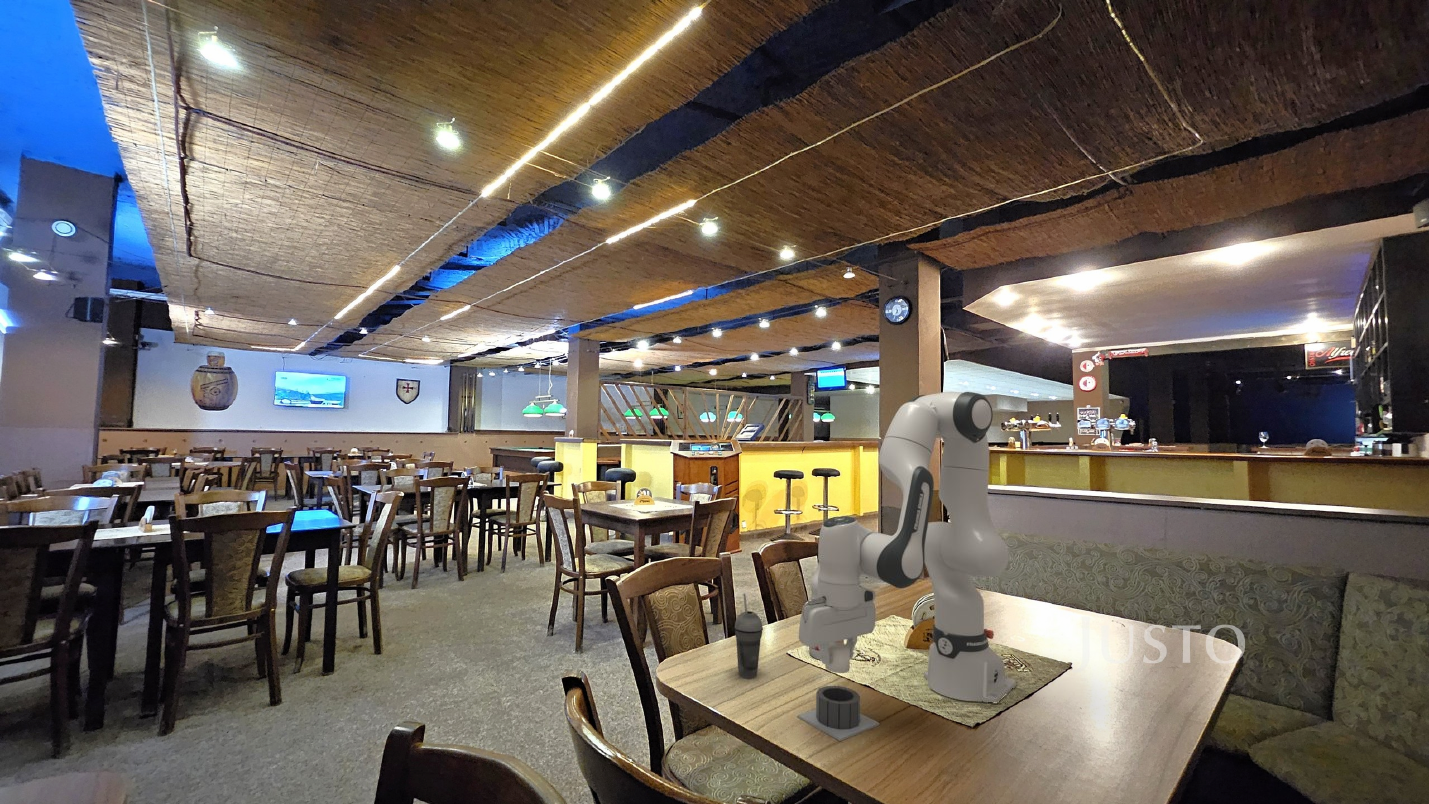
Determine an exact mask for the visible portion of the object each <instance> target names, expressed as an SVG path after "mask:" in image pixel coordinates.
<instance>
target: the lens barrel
mask: <svg viewBox="0 0 1429 804" xmlns="http://www.w3.org/2000/svg"><path fill="white" fill-rule="evenodd" d="M815 699H816V702H815V703H816V704H815V707H816V708H814V709H810V710H809V711H804V712H802V713H799V714H797V716H796V717H797V718H798V719H800V720H802V721H803V722H805V723H808V725H810V726H813V727H814V728H816V729H817V730H819V731H821V732H823V733H825V734H827V735H828V736H830V737H832V739H835V740H837V741H839V742H842V741H844V740H846V739H849V738H851V737H854V736H855V735H858V734H862V733H863V732H866V731H868V730H871V729H873V728H876V727H878V726H880V722H878V721H876V720H874V719H873V718H871V717H868V716H867V715H864V714H863V713H861V696H860V694H859V693H858V692H857V691H856V690H854V689H852V688H849V687H846V686H841V685H826V686H823V687H819V688H818V690H817V691H816V695H815Z"/></svg>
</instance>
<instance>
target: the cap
mask: <svg viewBox="0 0 1429 804" xmlns="http://www.w3.org/2000/svg"><path fill="white" fill-rule="evenodd" d="M827 649H828V652H829V654H830V655H833V659H832V663H831V664H828V665H826V664H824V665H825V666H824V667H825V669H826V670H827V671H830V672H832V673H836V674H837V673H838V674H846V673H848V672H850V662H851V658H850V647H849V646H848V645H846V643H844V644H843V643H830V645H829V648H827Z"/></svg>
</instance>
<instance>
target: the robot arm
mask: <svg viewBox="0 0 1429 804" xmlns="http://www.w3.org/2000/svg"><path fill="white" fill-rule="evenodd" d="M993 416H994V413H993V408H992V405H991V403H990V402H989V400H988V398H987V397H986V396H985V395H983V394H982V393H977V392H973V391H964V392H961V391H959V392H958V391H942V392H940V393H932V394H920V395H916V396H913V397H912V398H910V399H909V400H908V401H907V402H905V403H904V404H902V405H901V406H900V407H899V409H898V410H897V412H896V413H895V415H894V417H893V418H892V420H891V422H890V425H889V427H888V429H887V431H886V433H885V436H884V439H883V441H882V444H881V447H880V450H879V452H878V453H879V455H878V464H879V467H880V469H881V472H882V474H884V476H885V477H886V478H887V479H888V480H889V481H891V482H892V483H893V484H896V485H897V486H898V487H899V488H900V490H901V492H902V496H903V497H902V498H903V499H902V505H901V508H900V509H901V510H900V516H899V521H898V526H897V530H896V532H895V533H894V534H893V535H890V534H886V533H881V532H877V531H874V530H872V529H870V528H867V527H866V526H864V525H862V524H861V523H859V522H858V520H857V518H855V517H852V516H847V515H846V516H833V517H830V518H827V519H825V520H824V521H823V522H822V525H821V526H820V530H819V536H818V550H817V553H818V555H817V557H818V558H817V559H818V563H820V571H819V574H818V598H816V599H811V598H809V599H807V601H806V602H805V603H804V605H803V606H802V611H801V613H800V620H799V628H798V640H799V641H800V643H801V644H802V645H804V646H806V647H808V648H809V647H811V648H813V647H817V646H818V648H819V651H820V653H821V654H822V660H821V663H822V664H823V665H825V664H826V665H828V664H831V663H832V659H833V655H830V654H829V652H828V649H827V648H829V645H830V643H833V642H837V641H841V640H844V641H845V640H846V643H845V644H846V645H848V646H849V647H850V659H852V658H853V657H854V650H855V647H856V645H857V643H858V637H861V636H865V635H869V634H872V633H873V632H874V630H875V627H876V604H875V603H874V601H875V600H876V597H877V596H876V595H877V594H876V591H875V590H873V589H870V588H866V587H863V586H862V585H861V579H860V576H861V575H865V576H868V577H869V578H870V577H871V578H873V579H876V580H879V581H882V582H883V583H886V584H888V585H890V586H892V587H894V588H898V589H906V588H909V587H911V586H912V585H914V584H915V583H916V582H917V581H918V580H919V579H920V578H921V576H922V574H923V573H924V570H925V569H924V568H925V567H926V569H927V573H928V576H929V579H930V583H931V586H932V592H933V599H934V600H933V603H934V624H933V625H932V631H931V632H932V641H933V642H932V643H931V644H930V646H929V653H928V662H927V670H925V671H924V673H923V676H924V678H925V679H926V680H927V685H928V687H929V688H930V689H931V690H932V691H934V692H936V693H937V694H940V695H942V696H944V697H948V698H951V699H955V700H960V701H965V702H966V701H967V702H982V701H983V703H988V702H998V701H999V700H1000V699H1001V698H1002V697H1003V696H1004V695H1005V694H1007V693H1008V692H1009V691H1010V690H1011V689H1012V688H1013V689H1014V688H1016V686H1017V682H1016V681H1015V680H1014V679H1013V678H1011V677H1009V676H1007V675H1006V672H1005V671H1006V670H1005V669H1006V668H1005V667H1006V666H1005V662H1004V660H1003V658H1002V657H1001V656H1000V655H998V654H997V653H996V651H995V650H993V649H992V648H991V647H990V644H989V639H990V640H993V638H994V637H995V636H994V635H995V632H994V631H993V630H992V629H991V630H990V629H987V628H985V609H984V608H985V605H984V604H985V603H984V599H983V596H982V595H981V593H980V591H979V590H978V589H977V588H976V586H975V585H974V583H973V581H972V579H971V576H972V577H978V578H979V577H982V578H995V577H997V576H1000V575H1001V574H1002V573H1003V572H1004V571H1005V569H1006V568H1007V566H1008V563H1009V548H1008V546H1007V544H1006V542H1005V541H1004V540H1003V539H1002V537H1000V535H999V533H998V532H997V530H996V529H995V526H994V523H993V521H992V517H991V515H990V509H989V500H988V499H989V495H988V494H989V476H990V474H989V471H990V449H989V440H988V435H987V433H988V431H989V429H990V427H991V424H992V421H993ZM936 438H940V439H942V441H943V448H942V453H941V454H942V455H941V462H940V468H939V470H940V471H939V485H938V486H939V487H938V499H939V500H940V502H941V503H942V504H943V505H944V507H945V509H946V510H947V513H948V516H949V522H950V523H949V522H946V521H931V522H929V521H930V516H931V515H930V514H931V509H932V504H933V503H932V502H933V496H934V490H935V489H934V488H935V487H934V484H935V482H934V477H933V475H932V473H931V471H930V463H931V458H932V454H933V451H934V448H935V444H936V440H937V439H936ZM1015 685H1016V686H1015ZM1013 689H1012V690H1013ZM1012 690H1011V691H1012ZM1011 691H1010V692H1011ZM1010 692H1009V693H1010ZM1009 693H1008V694H1009ZM1008 694H1007V695H1008ZM998 703H999V702H998Z"/></svg>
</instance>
